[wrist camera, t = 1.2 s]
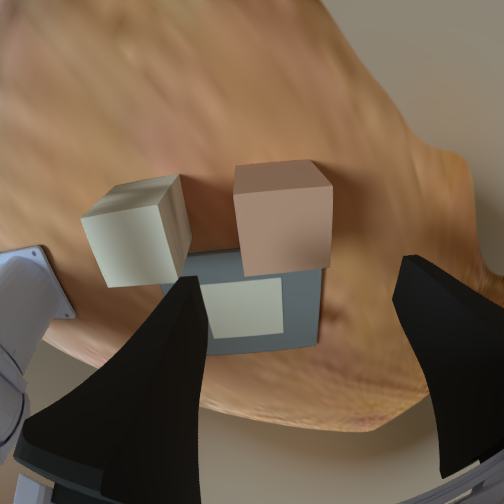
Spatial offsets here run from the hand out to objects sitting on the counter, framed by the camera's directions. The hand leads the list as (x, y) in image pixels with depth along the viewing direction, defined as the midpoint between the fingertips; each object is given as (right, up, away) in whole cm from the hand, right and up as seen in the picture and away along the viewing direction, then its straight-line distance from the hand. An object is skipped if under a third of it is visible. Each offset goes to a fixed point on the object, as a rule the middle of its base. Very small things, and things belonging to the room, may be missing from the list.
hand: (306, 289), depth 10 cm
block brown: (0, +5, +8) cm, 10 cm away
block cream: (-8, +4, +8) cm, 12 cm away
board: (-2, -3, +13) cm, 14 cm away
